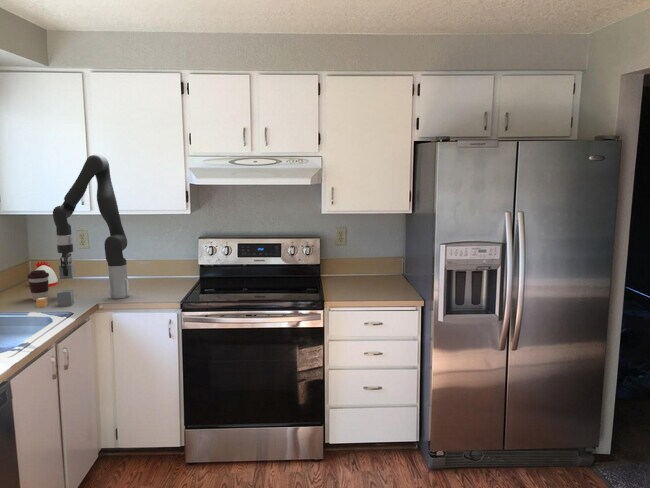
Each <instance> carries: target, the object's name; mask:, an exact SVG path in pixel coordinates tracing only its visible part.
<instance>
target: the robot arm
mask: <svg viewBox="0 0 650 488" xmlns="http://www.w3.org/2000/svg"><path fill="white" fill-rule="evenodd" d="M110 168H111V167H110V163H109V160H108V159H107V157H106V156H104V155H101V154H92V155H89V156H88V157H87V158H86V160H85V162H84V163H83V165H82V169H81V171H80V172H79V174H78V176H77V178H76V179H75V181H74V183H73V184H72V186H70V188H69V189H68V191H67V193H66V194H65V196H64V198H63V200H64V201H63V203H61V205H57V206H55V207H54V208H53V210H52V218H53V221H54V225H55V228H56V230H55V233H56V248H57V249H56V251H57V253H58V254H61V257H60V258H59V259H60V260H59V261H60V265H61V269H63V276H68V265H69V264H72V262H73V261H72V253H74V242H73V236H72V235H73V234H72V226H71V224H70V223H69V221H68V218H70V217H71V216H72V215H73V214H74V212H75V210H76V208H77V205H79V202H80V201H81V199H82V198H83V197H84V195H85V194H86V191H87V189H88V185H90V184H89V183H90V182H91V180H92V179H93V178H94V177H95V179H96V184H97V185H96V186H97V189H96V203H97V207H98V210H99V213H100V215H101V217H102V218H103V220H104V222H105V223H106V225H107V227H108V231H109V235H110V236H107V238H105V240H104V254H105V260H106V262H107V270H108V271H107V272H108V283H109V298H110V299H125V298H128V297H129V296H130V286H129V277H128V268H127V267H128V266H127V265H128V264H127V259H126V258H124V254H123V251H124V250H125V249H126V248H127V246H128V238H127V236H126V232H125V230H124V227H123V224H122V220H121V216H120V212H119V207H118V206H119V205H118V203H117V197H116V195H115V191H114V186H113V182H112V178H111V170H110ZM64 265H65V266H64Z"/></svg>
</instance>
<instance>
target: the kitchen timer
mask: <svg viewBox="0 0 650 488" xmlns="http://www.w3.org/2000/svg"><path fill="white" fill-rule="evenodd" d="M48 263H49V261H46V260H45V259H44V260H40V261H39V260H37V263H36V262H35V263H34V264H35V266H36V269H35V270H34V271H36V270H45V271H46V273H49V276H48V288H50V287H54V286H57V285H59V280H58V276H57V274H56V272H55V271H54V270H53V268H52V267H51V264H52V262H50V263H49V265H48Z"/></svg>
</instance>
